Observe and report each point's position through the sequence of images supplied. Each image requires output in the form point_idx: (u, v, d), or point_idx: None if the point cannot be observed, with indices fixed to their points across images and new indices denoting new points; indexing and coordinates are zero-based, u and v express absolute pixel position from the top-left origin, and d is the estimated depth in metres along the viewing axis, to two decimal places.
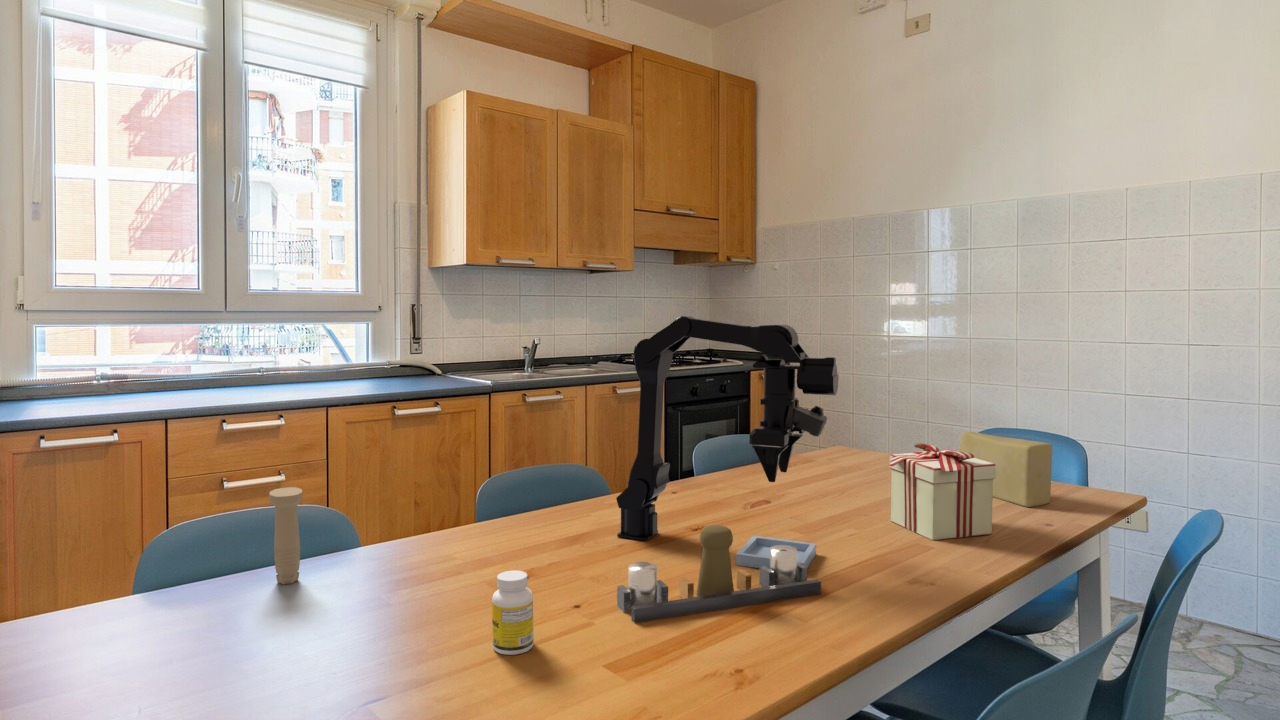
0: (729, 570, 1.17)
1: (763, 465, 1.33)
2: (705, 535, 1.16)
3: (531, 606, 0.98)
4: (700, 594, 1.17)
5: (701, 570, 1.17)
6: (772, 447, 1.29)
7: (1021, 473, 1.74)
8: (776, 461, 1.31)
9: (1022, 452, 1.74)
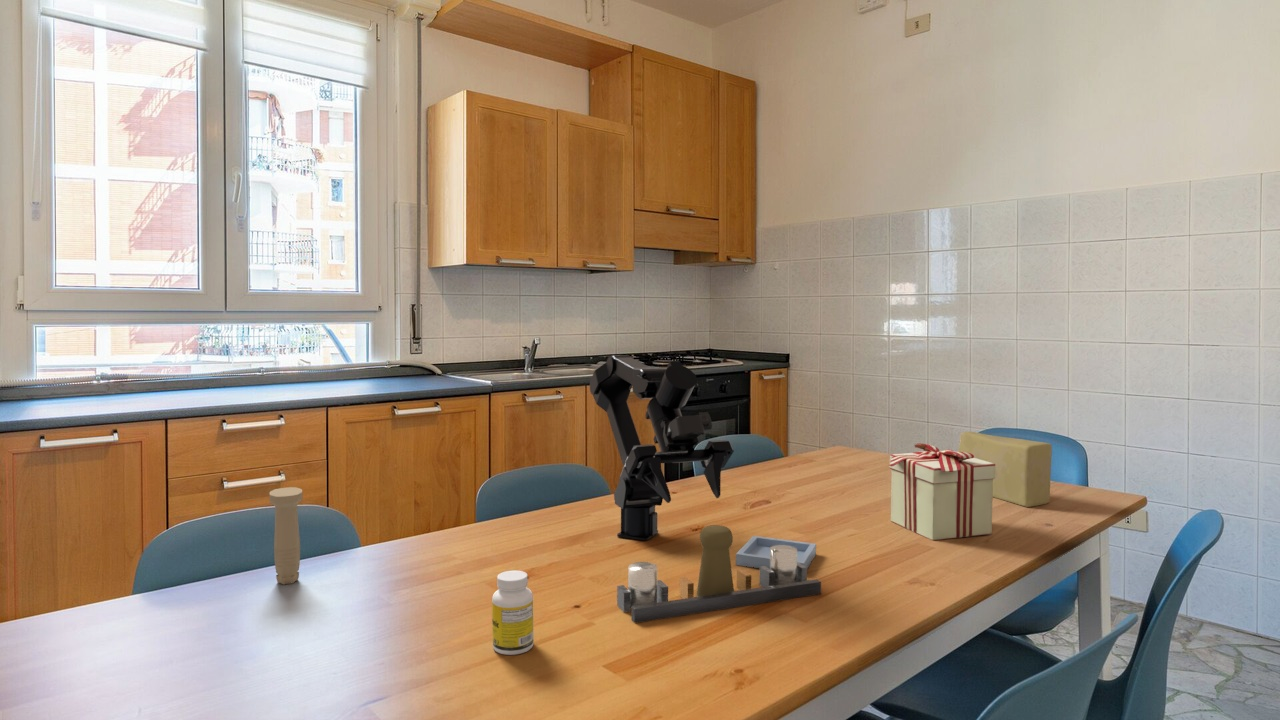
0: (729, 570, 1.17)
1: (656, 490, 1.26)
2: (705, 535, 1.16)
3: (531, 606, 0.98)
4: (700, 594, 1.17)
5: (701, 570, 1.17)
6: (641, 465, 1.26)
7: (1021, 473, 1.74)
8: (656, 477, 1.25)
9: (1022, 452, 1.74)
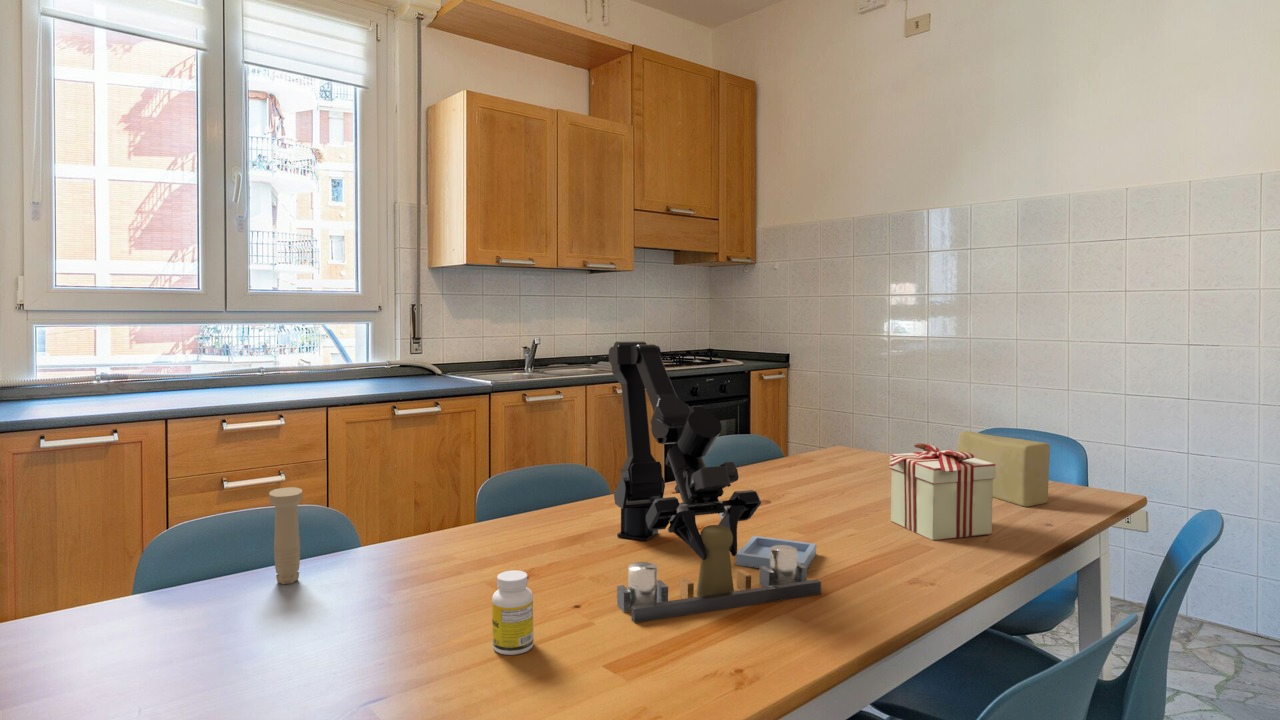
0: (729, 570, 1.17)
1: (690, 545, 1.18)
2: (705, 535, 1.16)
3: (531, 606, 0.98)
4: (700, 594, 1.17)
5: (701, 570, 1.17)
6: (674, 519, 1.18)
7: (1019, 472, 1.75)
8: (691, 532, 1.17)
9: (1020, 452, 1.74)
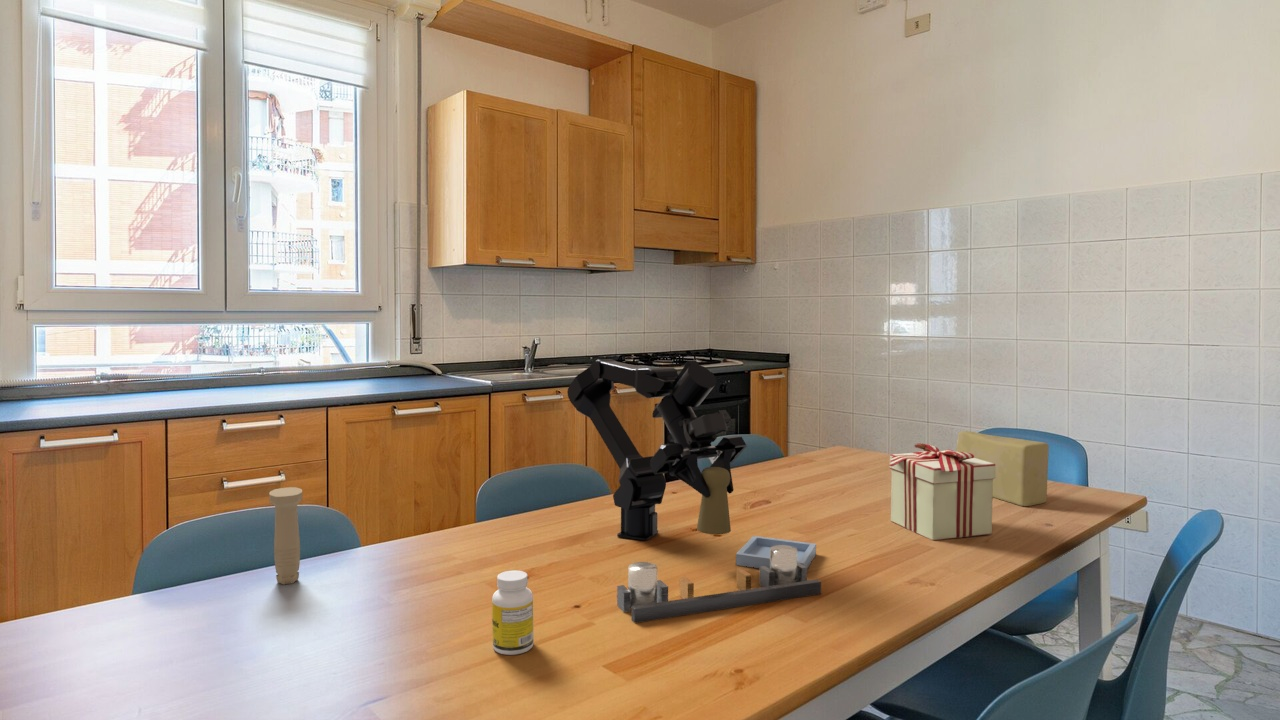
0: (727, 506, 1.30)
1: (692, 486, 1.30)
2: (708, 475, 1.28)
3: (531, 606, 0.98)
4: (702, 529, 1.29)
5: (703, 507, 1.29)
6: (678, 462, 1.29)
7: (1017, 472, 1.75)
8: (695, 474, 1.29)
9: (1019, 451, 1.74)
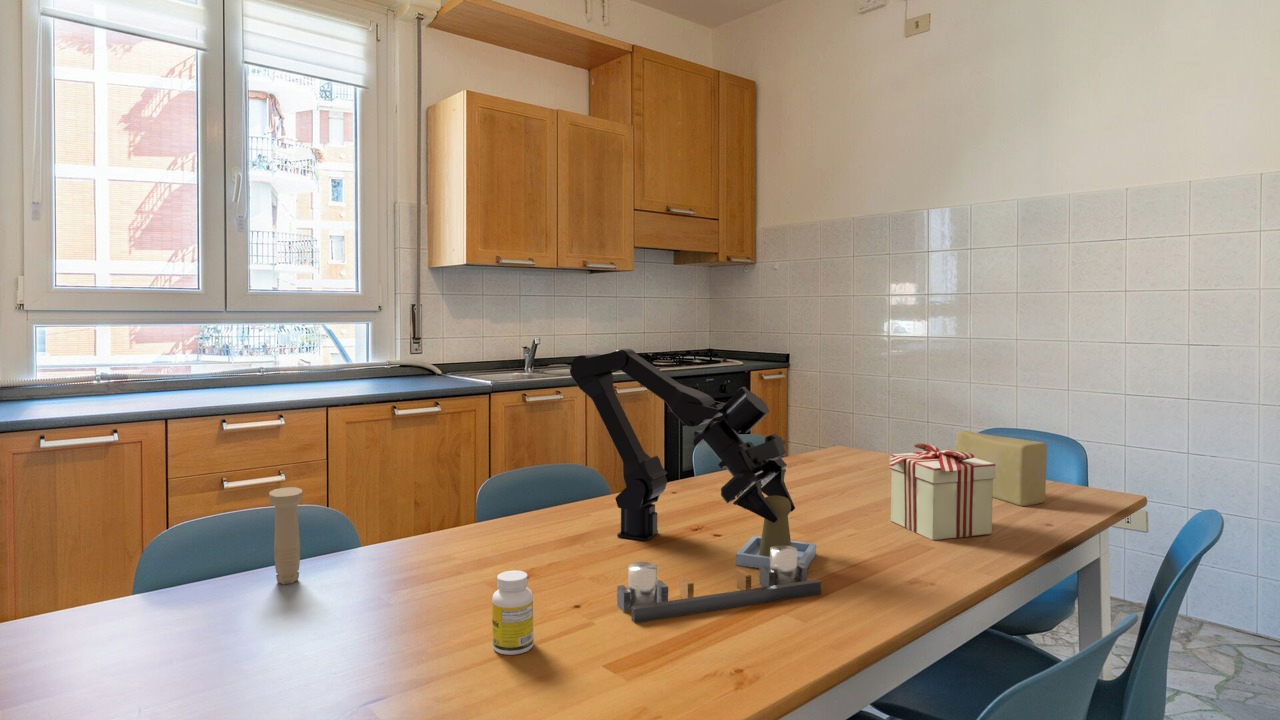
0: None
1: (757, 512, 1.31)
2: (775, 505, 1.32)
3: (531, 606, 0.98)
4: None
5: (770, 536, 1.33)
6: (746, 491, 1.29)
7: (1016, 472, 1.75)
8: (762, 500, 1.30)
9: (1017, 451, 1.75)
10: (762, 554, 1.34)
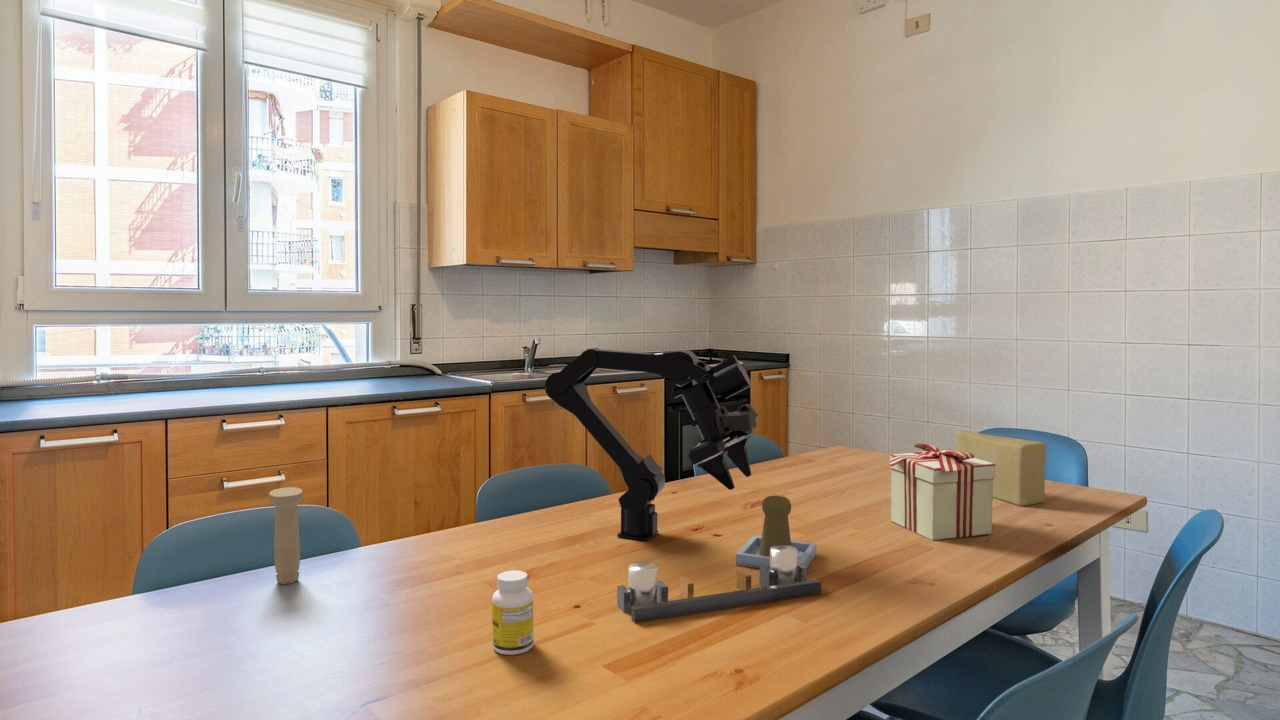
0: None
1: (716, 478, 1.39)
2: (776, 505, 1.32)
3: (531, 606, 0.98)
4: None
5: (770, 536, 1.33)
6: (712, 458, 1.36)
7: (1015, 472, 1.75)
8: (724, 469, 1.38)
9: (1016, 451, 1.75)
10: (762, 554, 1.34)
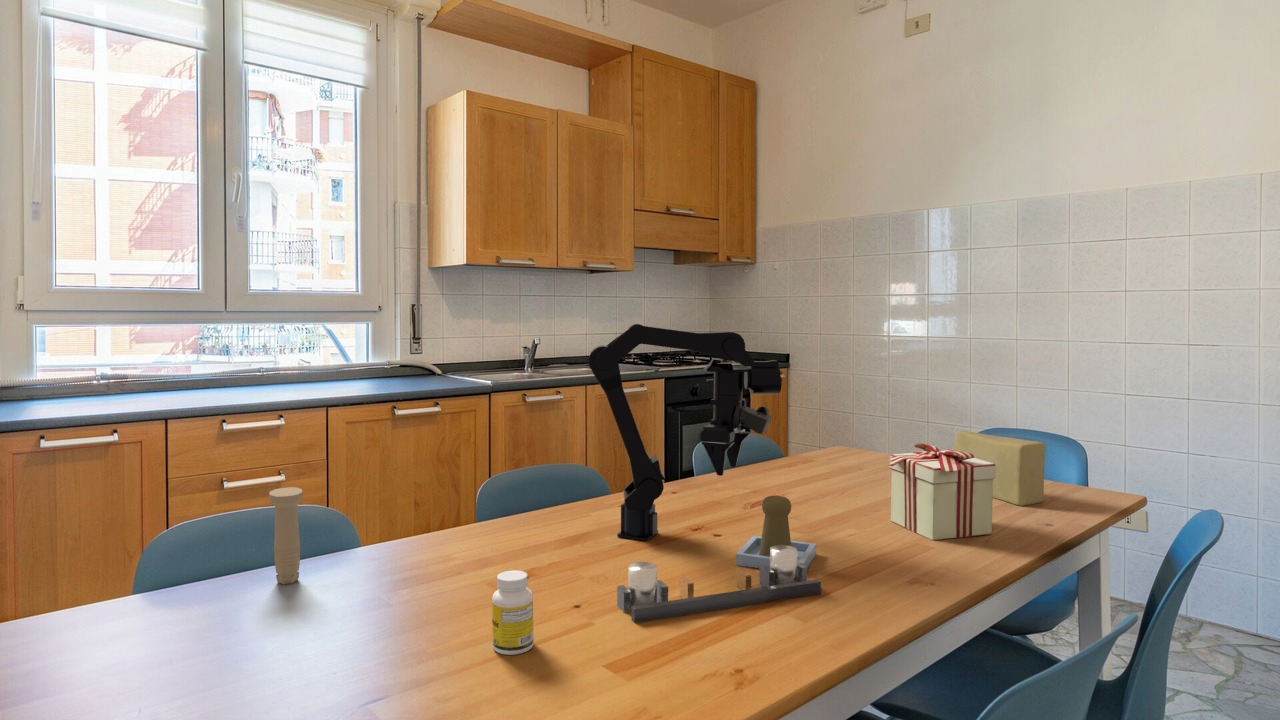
0: None
1: (712, 460, 1.45)
2: (776, 505, 1.32)
3: (531, 606, 0.98)
4: None
5: (770, 536, 1.33)
6: (719, 443, 1.42)
7: (1014, 472, 1.75)
8: (723, 456, 1.44)
9: (1015, 451, 1.75)
10: (762, 554, 1.34)
